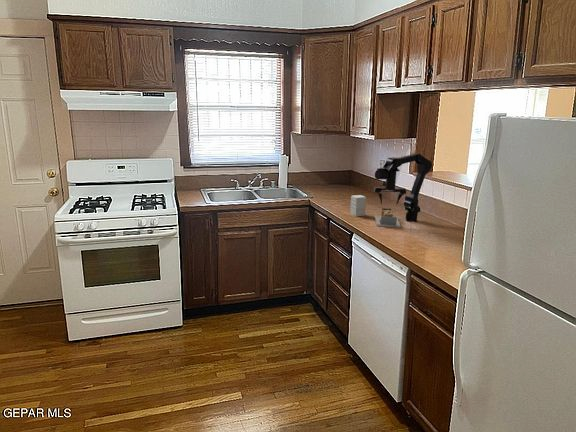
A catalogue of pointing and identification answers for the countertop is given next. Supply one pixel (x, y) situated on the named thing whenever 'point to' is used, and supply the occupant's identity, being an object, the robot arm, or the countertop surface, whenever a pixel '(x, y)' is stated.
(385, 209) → the press ram
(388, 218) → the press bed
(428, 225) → the countertop surface
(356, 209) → the supplement box
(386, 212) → the housing
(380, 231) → the countertop surface
